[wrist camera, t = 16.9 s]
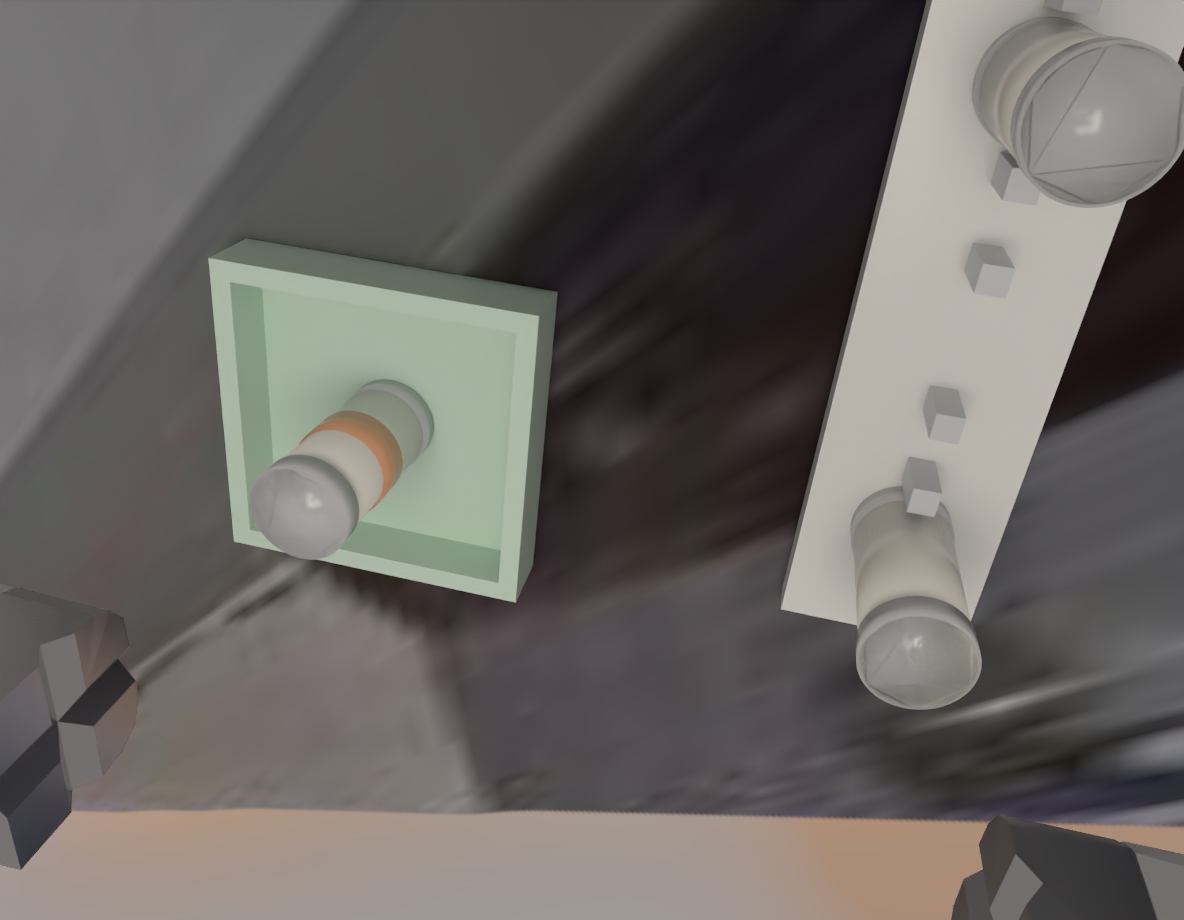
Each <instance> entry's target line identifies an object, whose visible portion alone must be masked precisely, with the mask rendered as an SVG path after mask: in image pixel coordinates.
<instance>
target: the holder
mask: <svg viewBox="0 0 1184 920" xmlns="http://www.w3.org/2000/svg"><path fill="white" fill-rule="evenodd" d="M1049 16H1050V17H1061V18H1066V19H1069V20H1072V21H1075V22H1078V23H1081V24H1083V25H1085V26H1087V27H1089V28H1090V29H1091V30H1093V31H1096V32H1099V33H1102V34H1105V35H1108V36H1111V37H1124V38H1129V39H1133V40H1136V41H1140V42H1143V43H1146V44H1149V45H1152V46H1154V47H1156V48H1158V49H1160V50H1162V51H1164V52H1165V53H1167V54H1168V55H1169V56H1170V57H1172V58H1173V59H1174V60H1175V61H1176V62H1177V63H1178V60H1179V57H1180V55H1181V52H1182V49H1183V47H1184V0H927V1H926V5H925V9H924V13H923V17H922V21H921V25H920V29H919V33H918V37H917V41H916V45H915V49H914V53H913V57H912V62H911V66H910V70H909V74H908V78H907V82H906V86H905V90H904V94H903V98H902V102H901V106H900V110H899V114H898V118H897V123H896V127H895V131H894V135H893V139H892V143H891V147H890V151H889V155H888V159H887V163H886V167H885V171H884V175H883V179H882V184H881V188H880V192H879V196H878V200H877V204H876V208H875V212H874V216H873V220H872V224H871V228H870V232H869V236H868V240H867V245H866V249H865V253H864V257H863V261H862V265H861V269H860V273H859V277H858V281H857V285H856V289H855V293H854V297H853V301H852V306H851V310H850V314H849V318H848V322H847V326H846V330H845V334H844V338H843V342H842V346H841V350H840V354H839V358H838V362H837V367H836V371H835V375H834V379H833V383H832V387H831V391H830V395H829V399H828V403H827V407H826V411H825V415H824V419H823V423H822V428H821V432H820V436H819V440H818V444H817V448H816V452H815V456H814V460H813V464H812V468H811V472H810V476H809V480H808V484H807V489H806V493H805V497H804V501H803V505H802V509H801V513H800V517H799V521H798V525H797V529H796V533H795V537H794V541H793V545H792V550H791V554H790V558H789V562H788V566H787V570H786V574H785V578H784V582H783V586H782V600H781V609H782V610H787V611H792V612H797V613H802V614H806V615H811V616H816V617H821V618H825V619H830V620H835V621H840V622H844V623H849V624H854V625H857V611H856V591H855V570H854V554H853V551H852V547H851V532H850V527H851V520H852V517H853V514H854V512H855V510H856V508H857V507H858V506H859V504H860V503H861V502H862V501H863V500H864V499H866V498H867V497H868V496H870V495H871V494H873V493H875V492H877V491H879V490H882V489H885V488H889V487H896V486H903V491H904V498H905V505H906V512H910V513H915V514H920V515H925V516H931V517H935V514H936V511H937V508H938V505H939V502H940V501H941V502H942V503H943V504H944V506H945V507H946V509H947V510H948V512H949V515H950V518H951V522H952V527H953V531H954V536H955V545H954V547H955V551H956V556H957V561H958V565H959V570H960V574H961V579H962V584H963V588H964V593H965V598H966V602H967V607H968V612H969V616H970V621H971V619H972V617H973V614H974V611H975V608H976V606H977V603H978V600H979V598H980V595H981V592H982V590H983V587H984V584H985V581H986V579H987V576H988V573H989V571H990V568H991V565H992V562H993V560H994V557H995V554H996V552H997V549H998V546H999V544H1000V541H1001V538H1002V535H1003V533H1004V530H1005V527H1006V525H1007V522H1008V519H1009V517H1010V514H1011V511H1012V508H1013V506H1014V503H1015V500H1016V498H1017V495H1018V492H1019V490H1020V487H1021V484H1022V481H1023V479H1024V476H1025V473H1026V471H1027V468H1028V465H1029V463H1030V460H1031V457H1032V454H1033V452H1034V449H1035V446H1036V444H1037V441H1038V438H1039V436H1040V433H1041V430H1042V427H1043V425H1044V422H1045V419H1046V417H1047V414H1048V411H1049V409H1050V406H1051V403H1052V400H1053V398H1054V395H1055V392H1056V390H1057V387H1058V384H1059V381H1060V379H1061V376H1062V373H1063V371H1064V368H1065V365H1066V363H1067V360H1068V357H1069V354H1070V352H1071V349H1072V346H1073V344H1074V341H1075V338H1076V336H1077V333H1078V330H1079V327H1080V325H1081V322H1082V319H1083V317H1084V314H1085V311H1086V309H1087V306H1088V303H1089V300H1090V298H1091V295H1092V292H1093V290H1094V287H1095V284H1096V282H1097V279H1098V276H1099V273H1100V271H1101V268H1102V265H1103V263H1104V260H1105V257H1106V255H1107V252H1108V249H1109V246H1110V244H1111V241H1112V238H1113V236H1114V233H1115V230H1116V228H1117V225H1118V222H1119V219H1120V217H1121V214H1122V211H1123V209H1124V206H1125V203H1126V201H1127V200H1126V201H1123V202H1121V203H1117V204H1114V205H1110V206H1105V207H1098V208H1080V207H1073V206H1068V205H1064V204H1062V203H1059V202H1056V201H1054V200H1052V199H1050V198H1049V197H1047V196H1046V195H1044V194H1043V193H1041V192H1040V191H1039V190H1038V189H1037V188H1036V187H1035V186H1034V185H1033V184H1032V183H1031V182H1030V181H1029V179H1028V178H1027V177H1026V176H1025V175H1024V173H1023V172H1022V171H1021V169H1020V168H1019V166H1018V164H1017V162H1016V160H1015V158H1014V157H1013V156H1012V155H1011V153H1010V152H1009V151H1008V150H1007V149H1006V148H1005V147H1004V146H1003V145H1002V144H1000V143H999V142H997V141H996V140H995V139H994V138H993V137H992V136H991V135H990V134H989V133H988V132H987V131H986V130H985V128H984V127H983V126H982V124H981V123H980V121H979V119H978V117H977V115H976V112H975V110H974V105H973V99H972V88H973V81H974V76H975V73H976V70H977V67H978V65H979V63H980V61H981V59H982V57H983V55H984V54H985V52H986V51H987V50H988V48H989V47H990V46H991V45H992V43H993V42H994V41H995V40H996V39H997V38H998V37H1000V36H1001V35H1002V34H1003V33H1005V32H1006V31H1007V30H1009V29H1010V28H1012V27H1014V26H1016V25H1018V24H1020V23H1022V22H1024V21H1027V20H1030V19H1034V18H1039V17H1049Z"/></svg>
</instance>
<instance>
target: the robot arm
mask: <svg viewBox="0 0 1184 920" xmlns="http://www.w3.org/2000/svg"><path fill="white" fill-rule="evenodd" d="M129 645H130V644H129V640H128V635H127V630H126V626H125V621H124V618H123V617H121V616H119V615H117V614H115V613H113V612H111V611H109V610H105V609H101V608H98V607H94V606H90V605H86V604H82V603H78V602H74V601H70V600H67V599H63V598H59V597H55V596H51V595H47V594H43V593H39V592H35V591H32V590H28V589H24V588H15V587H12V586H8V585H4V584H0V865H3V866H7V867H11V868H15V869H20V870H21V869H22V868H23V867H24V866H25V865H26V863H27V862H28V861H29V860H30V859H31V858H32V856H33V855H34V854H35V853H36V852H37V851H38V850H39V848H40V847H41V846H42V845H43V844H44V843H45V842H46V840H47V839H48V838H49V837H50V836H51V835H52V834H53V833H54V831H55V830H56V829H57V828H58V827H59V826H60V825H61V823H62V822H63V821H64V820H65V819H66V818H67V817H68V815H69V814H70V813H71V805H72V790H74V789H76V788H78V787H80V786H82V785H84V784H87V783H89V782H91V781H93V780H95V779H97V778H100V777H102V776H103V775H104V774H105V773H106V771H107V770H108V769H109V768H110V767H111V765H112V764H113V763H114V762H115V761H116V759H117V758H118V757H119V756H120V755H121V753H122V752H123V750H124V747H125V745H126V743H127V741H128V739H129V736H130V734H131V732H132V730H133V728H134V725H135V723H136V715H137V707H138V694H137V688H136V681H135V680H134V678H133V677H132V676H131V675H130V673H129V672H128V671H127V670H126V668H125V667H124V666H123V665H122V663H121V662H120V661H119V660H118V659H119V658H120V656H121V655H122V654H123V653H124V652H125V650H126V649H127V648H128V647H129ZM979 847H980V853H981V859H982V865H983V870H981V871H979V872H977V873H975V874H973V875H971V876H969V877H967V878H965V879H964V880H963V883H962V885H961V888H960V891H959V893H958V896H957V898H956V901H955V904H954V906H953V913H952V919H951V920H1184V854H1180V853H1175V852H1170V851H1166V850H1161V849H1157V848H1152V847H1147V846H1143V845H1138V844H1133V843H1129V842H1118V841H1116V840H1114V839H1109V838H1105V837H1100V836H1095V835H1091V834H1086V833H1082V832H1077V831H1073V830H1068V829H1063V828H1059V827H1055V826H1050V825H1046V824H1041V823H1037V822H1032V821H1027V820H1023V819H1018V818H1014V817H1009V816H1005V815H1000V814H998V815H997V816H996V817H995V818H994V819H993V820H992V821H991V822H990V823H988V825H987V828H986V830H985V832H984V834H983V836H982V839H981V841H980V843H979Z"/></svg>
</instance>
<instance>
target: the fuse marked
mask: <svg viewBox="0 0 1184 920" xmlns="http://www.w3.org/2000/svg"><path fill="white" fill-rule="evenodd" d="M432 436H433V419H432V415H431V412H430V410H429V408H428V406H427V405H426V403H425V401H424V400H423V399H422V398H421V397H420V396H419V395H418V393H416V392H415V391H414V390H413V389H411V388H410V387H408V386H407V385H405V384H403V383H400V382H397V381H393V380H387V379H382V380H375V381H372V382H369V383H367V384H365V385H364V386H363V387H361V388H360V389H359V390H358V391H357V392H356V393H354V394H353V395H352V396H351V397H350V398H349V399H348V400H347V402H346V403H345V405H344V406H343V407H341V408H340V409H339V410H338V411H337V412H336V413H334V414H332V415H330V416H328V417H327V418H326V419H324V420H323V421H322V422H321V423H320V424H319V425H318V426H316V427H315V428H314V429H313V430H312V431H311V432H310V433H308V434H307V435H306V436H305V437H304V438H303V439H302V440H301V442H300V443H299V445H298V446H297V447H296V448H295V449H293V450H292V451H291V452H290V453H289V454H288V455H287V456H285V457H283V458H281V459H279V460H278V461H276V462H275V463H274V464H273V465H272V466H270V467H269V468H268V469H267V470H266V471H265V472H263V473H262V474H261V475H260V476H259V477H258V478H257V479H256V481H255V482H254V484H253V486H252V488H251V492H250V498H249V501H250V510H251V513H252V517H253V519H254V521H255V523H256V525H257V527H258V529H259V530H260V531H261V533H262V534H263V535H264V536H265V537H266V539H267V540H268V541H270V542H271V543H272V544H273V545H274V546H276V547H277V548H278V549H280V550H281V551H283V552H285V553H287V554H289V555H292V556H294V557H298V558H302V559H313V560H314V559H321V558H325V557H327V556H330V555H332V554H333V553H335V552H336V551H337V550H338V549H339V548H340V547H341V546H342V545H343V543H344V542H345V541H346V540H347V539H348V538H349V537H350V535H351V534H352V533H353V532H354V530H355V528H356V526H357V524H358V523H359V522H360V521H361V519H362V518H363V517H364V516H365V515H366V514H367V513H368V511H370V510H372V509H373V508H374V507H375V506H377V504H378V503H379V502H380V501H381V500H382V499H383V498H384V496H385V495H386V494H387V493H388V492H389V491H390V490H391V488H392V487H393V486H394V485H395V484H396V483H397V481H398V479H399V478H400V475H401V474H402V473H403V472H404V471H405V469H406V468H407V467H408V466H409V465H411V464H412V463H414V462H415V461H416V460H417V459H418V458H419V456H420V455H421V454H422V453H423V452H424V451H425V449H426V448H427V447H428V446H429V444H430V442H431V439H432Z"/></svg>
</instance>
